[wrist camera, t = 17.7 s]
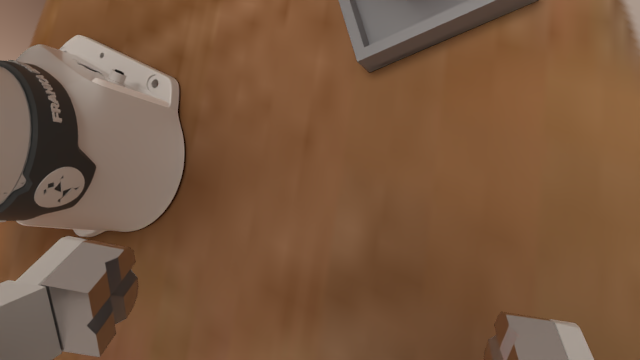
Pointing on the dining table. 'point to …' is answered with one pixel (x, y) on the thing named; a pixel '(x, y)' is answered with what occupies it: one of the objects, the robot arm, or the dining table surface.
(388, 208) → the dining table surface
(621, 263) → the dining table surface
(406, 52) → the parts tray
